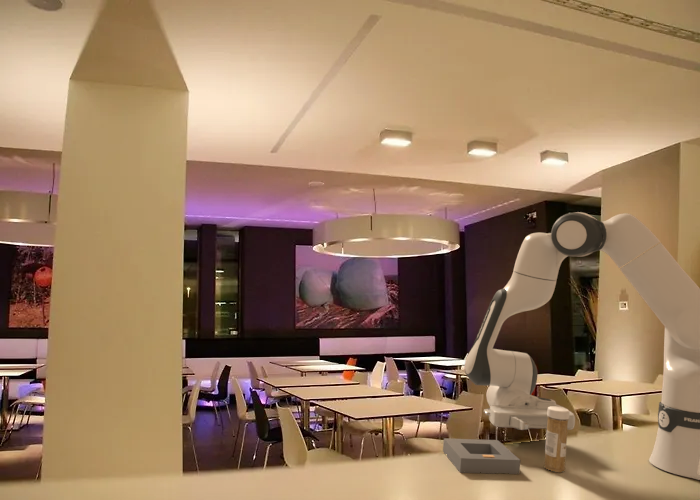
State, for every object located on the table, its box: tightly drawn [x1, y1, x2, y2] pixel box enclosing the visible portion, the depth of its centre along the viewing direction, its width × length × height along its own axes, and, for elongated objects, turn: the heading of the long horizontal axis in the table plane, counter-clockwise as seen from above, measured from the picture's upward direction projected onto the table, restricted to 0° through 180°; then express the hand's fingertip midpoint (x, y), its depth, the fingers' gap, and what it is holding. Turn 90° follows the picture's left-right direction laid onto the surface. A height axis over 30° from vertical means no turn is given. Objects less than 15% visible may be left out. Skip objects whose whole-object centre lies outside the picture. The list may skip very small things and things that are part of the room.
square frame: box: [442, 438, 521, 475], centre depth 133 cm, size 13×13×3 cm
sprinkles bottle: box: [543, 406, 570, 473], centre depth 132 cm, size 5×5×14 cm
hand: (545, 427), depth 138 cm, fingers open, 8 cm apart
